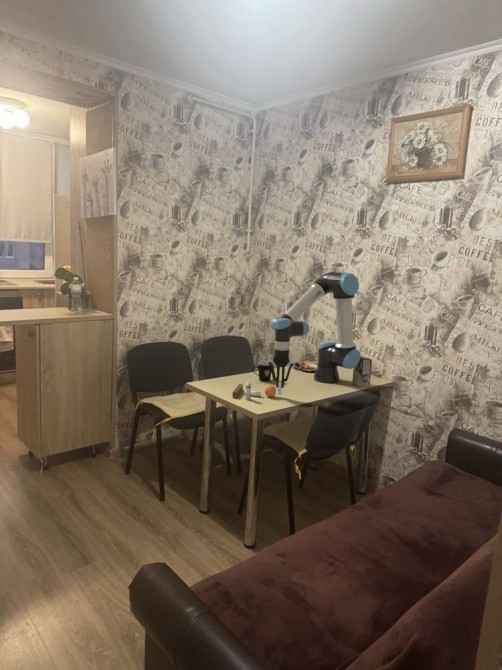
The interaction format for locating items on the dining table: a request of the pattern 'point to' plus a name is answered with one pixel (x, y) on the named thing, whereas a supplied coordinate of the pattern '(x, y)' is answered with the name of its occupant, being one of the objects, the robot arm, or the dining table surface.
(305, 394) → the dining table surface
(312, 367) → the food plate
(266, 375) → the coffee mug
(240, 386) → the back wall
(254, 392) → the pin
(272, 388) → the ball
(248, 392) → the side pin
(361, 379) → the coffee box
